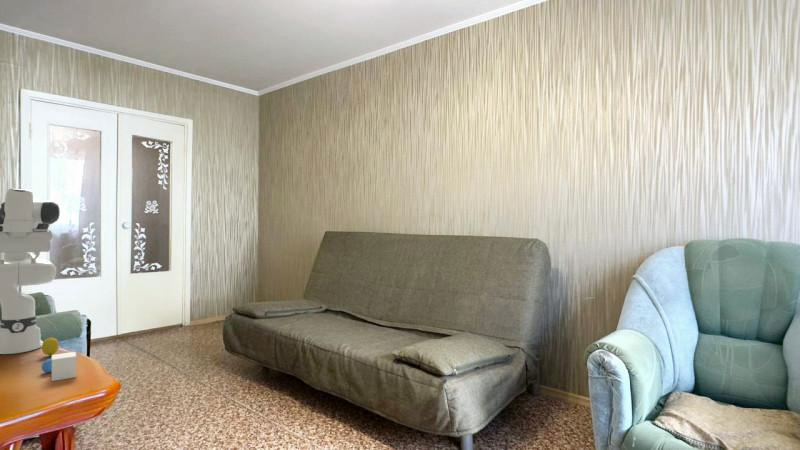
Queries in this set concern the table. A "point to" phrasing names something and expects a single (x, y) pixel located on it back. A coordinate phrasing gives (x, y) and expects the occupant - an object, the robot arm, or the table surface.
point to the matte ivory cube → (63, 366)
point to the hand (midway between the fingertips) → (17, 264)
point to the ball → (47, 366)
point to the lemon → (50, 346)
